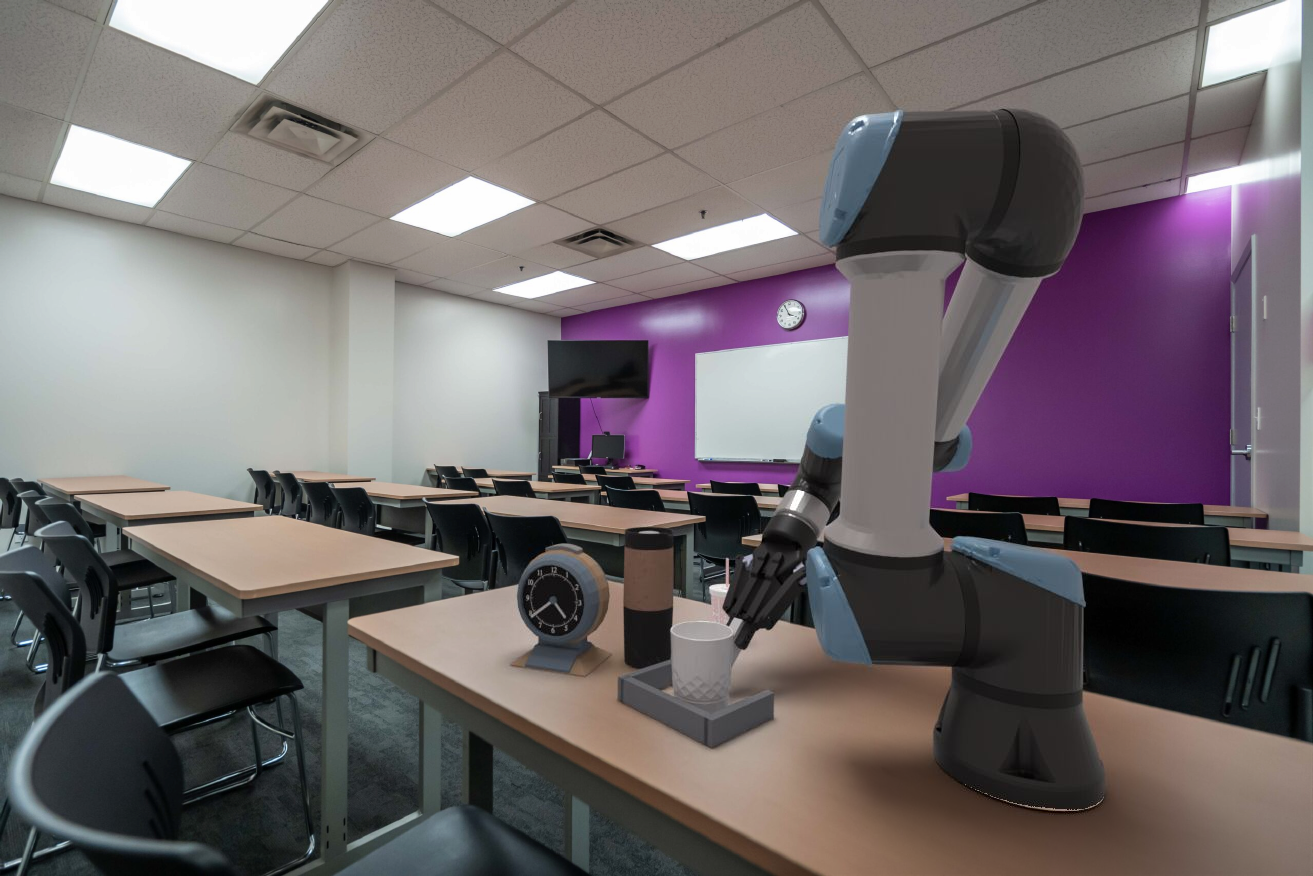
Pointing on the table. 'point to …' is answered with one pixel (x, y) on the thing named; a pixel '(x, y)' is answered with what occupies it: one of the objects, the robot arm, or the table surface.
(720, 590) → the beverage cup
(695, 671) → the white cup
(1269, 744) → the table surface
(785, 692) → the table surface
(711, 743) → the corral
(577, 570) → the alarm clock
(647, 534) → the travel mug
